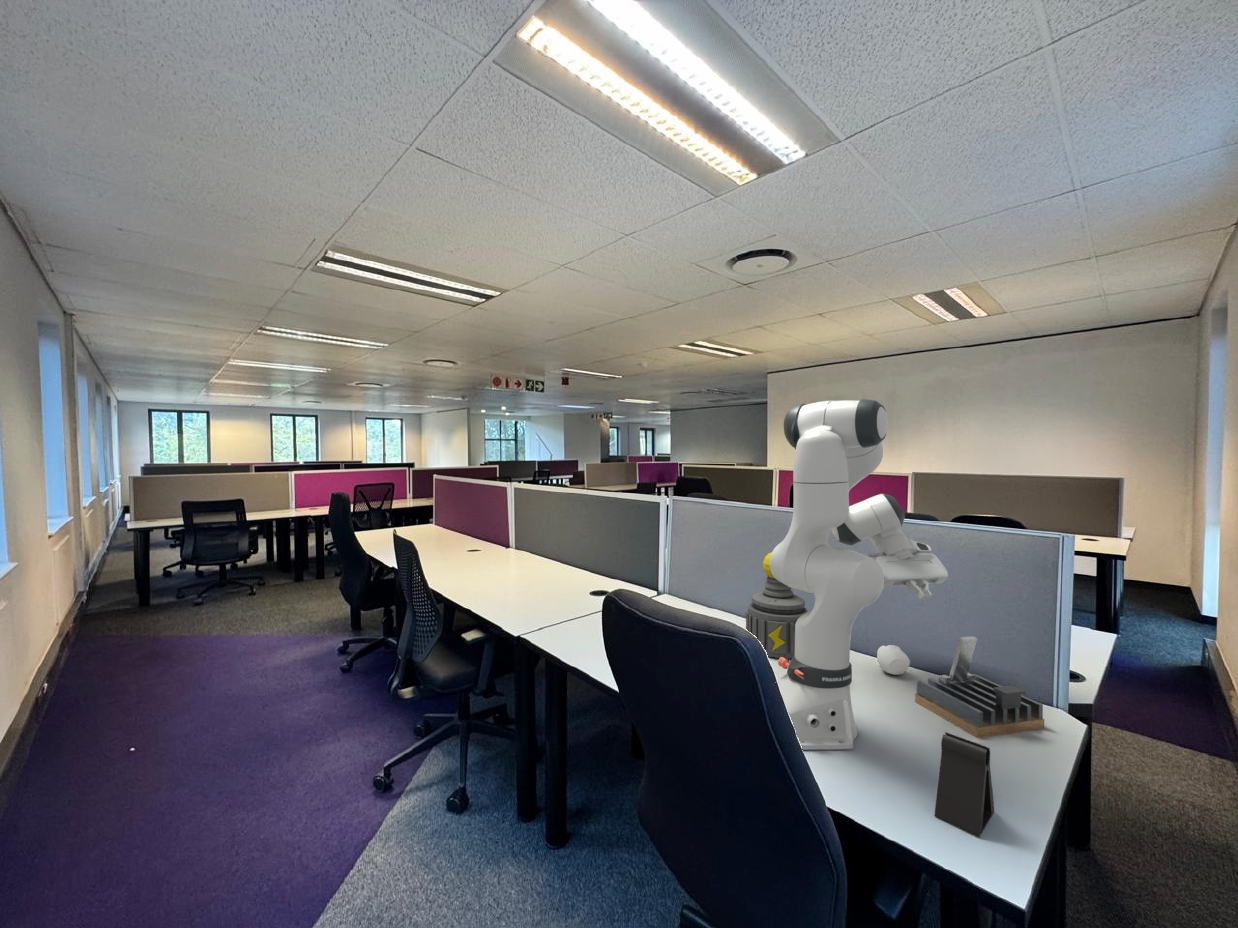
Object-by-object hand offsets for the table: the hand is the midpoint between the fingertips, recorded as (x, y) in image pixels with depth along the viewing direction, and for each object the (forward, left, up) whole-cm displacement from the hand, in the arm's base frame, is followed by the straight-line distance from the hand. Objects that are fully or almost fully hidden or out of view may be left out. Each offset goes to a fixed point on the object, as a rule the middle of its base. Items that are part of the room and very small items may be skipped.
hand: (925, 597), depth 127 cm
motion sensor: (-2, +9, -23) cm, 25 cm away
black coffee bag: (-32, -40, -23) cm, 56 cm away
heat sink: (0, -14, -23) cm, 27 cm away
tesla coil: (-23, +32, -23) cm, 46 cm away
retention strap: (0, -11, -12) cm, 16 cm away
